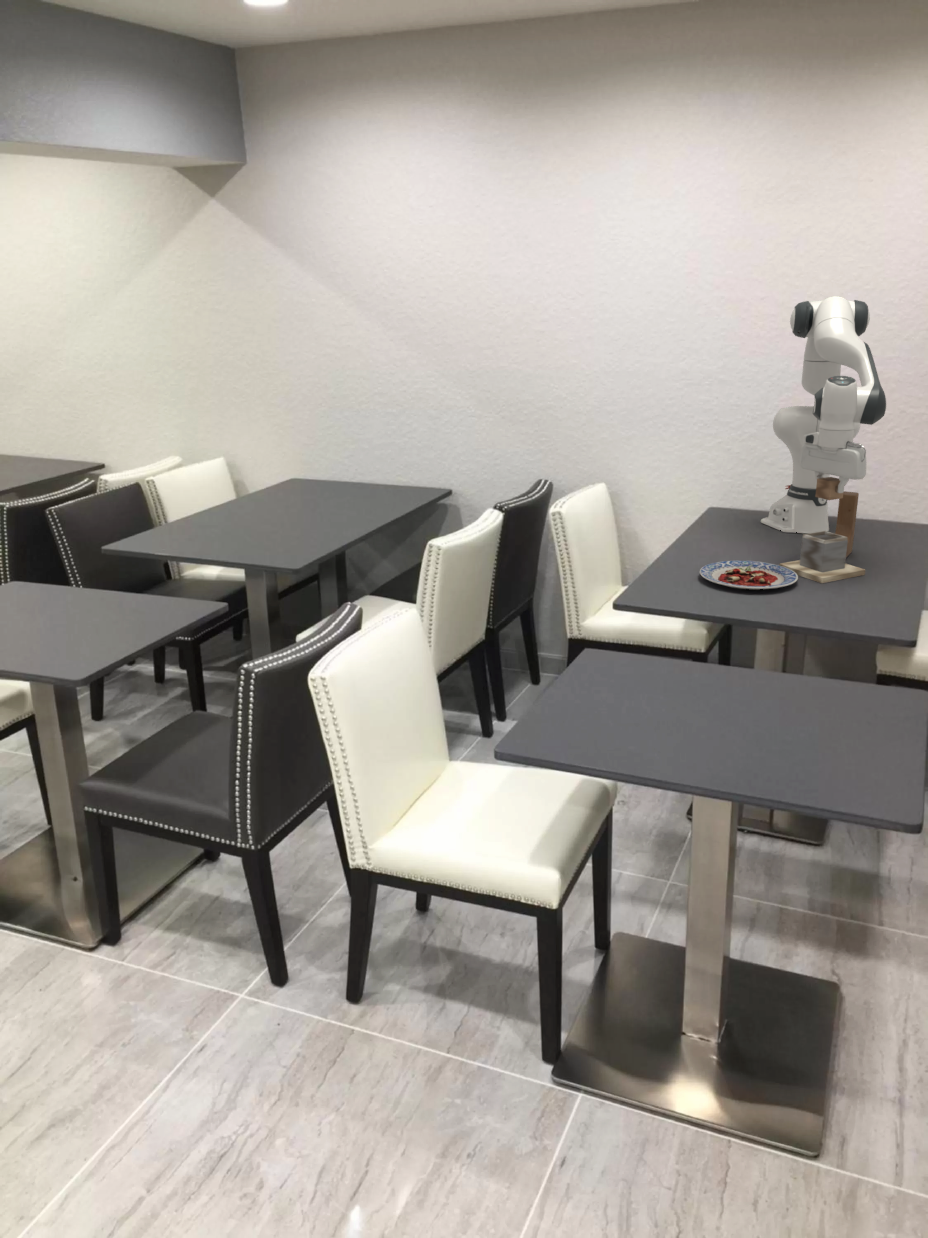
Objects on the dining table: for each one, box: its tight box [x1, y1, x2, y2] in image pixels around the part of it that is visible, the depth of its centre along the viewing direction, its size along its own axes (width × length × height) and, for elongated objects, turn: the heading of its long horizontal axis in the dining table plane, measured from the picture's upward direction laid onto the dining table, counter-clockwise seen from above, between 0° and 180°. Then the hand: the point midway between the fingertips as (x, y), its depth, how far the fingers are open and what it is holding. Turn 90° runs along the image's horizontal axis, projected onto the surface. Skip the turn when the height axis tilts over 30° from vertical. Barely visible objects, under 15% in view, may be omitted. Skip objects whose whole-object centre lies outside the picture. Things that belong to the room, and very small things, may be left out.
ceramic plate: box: [699, 560, 799, 591], centre depth 274 cm, size 26×26×3 cm
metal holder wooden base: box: [778, 531, 866, 584], centre depth 279 cm, size 16×16×10 cm
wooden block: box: [834, 490, 860, 559], centre depth 294 cm, size 9×4×18 cm, turn 148°
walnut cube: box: [815, 476, 844, 501], centre depth 273 cm, size 5×5×5 cm
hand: (829, 490), depth 273 cm, fingers closed on walnut cube, 5 cm apart
